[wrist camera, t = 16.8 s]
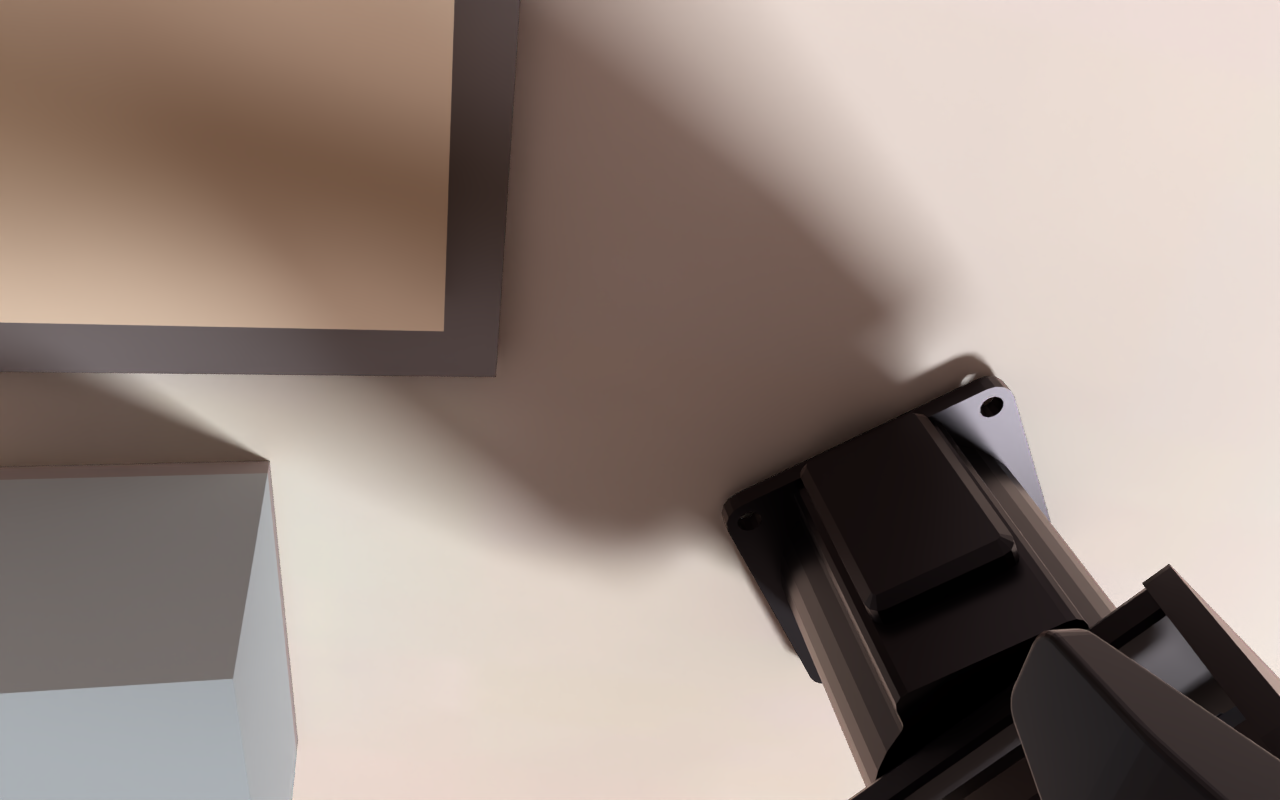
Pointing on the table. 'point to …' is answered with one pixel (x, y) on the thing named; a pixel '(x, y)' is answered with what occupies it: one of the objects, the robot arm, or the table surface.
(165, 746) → the block
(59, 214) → the board
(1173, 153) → the table surface
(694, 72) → the table surface
